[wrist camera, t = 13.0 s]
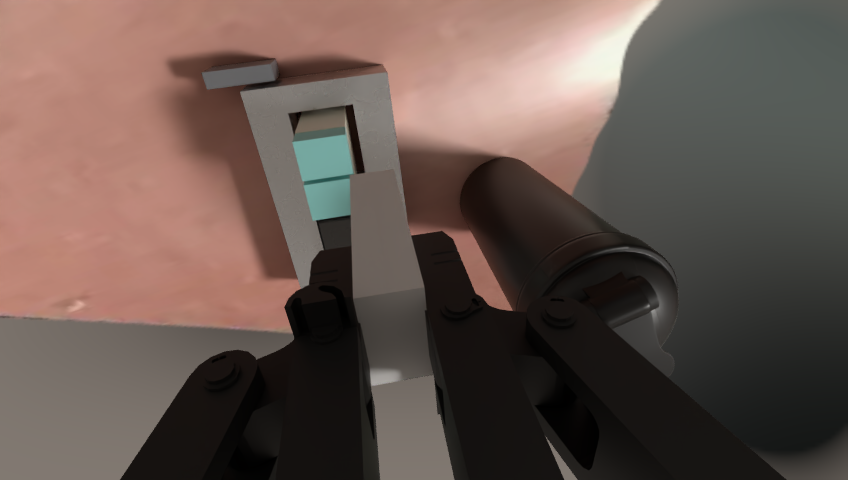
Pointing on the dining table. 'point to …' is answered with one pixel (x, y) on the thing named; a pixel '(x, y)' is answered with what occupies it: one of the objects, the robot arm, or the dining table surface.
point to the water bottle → (569, 255)
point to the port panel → (274, 134)
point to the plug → (325, 160)
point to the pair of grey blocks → (241, 74)
